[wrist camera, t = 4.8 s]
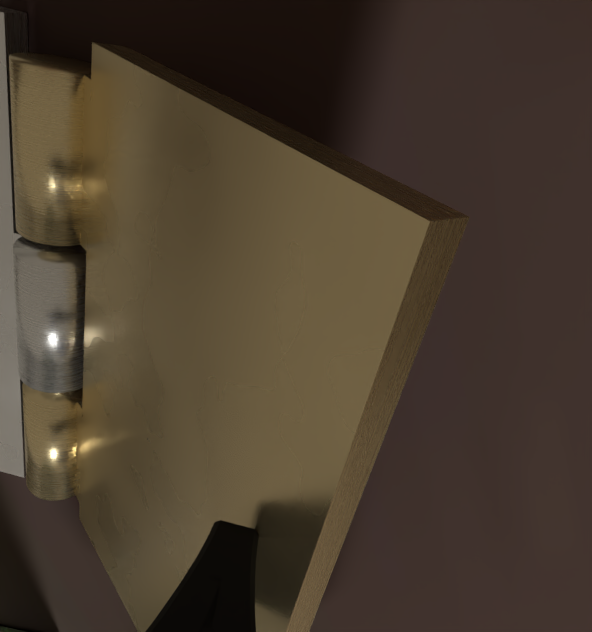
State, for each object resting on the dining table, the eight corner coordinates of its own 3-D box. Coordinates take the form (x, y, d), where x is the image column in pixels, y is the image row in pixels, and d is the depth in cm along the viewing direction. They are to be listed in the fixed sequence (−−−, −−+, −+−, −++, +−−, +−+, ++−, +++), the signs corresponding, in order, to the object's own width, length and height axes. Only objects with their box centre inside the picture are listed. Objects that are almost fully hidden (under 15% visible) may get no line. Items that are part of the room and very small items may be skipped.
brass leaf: (77, 462, 23) (18, 482, 21) (87, 26, 15) (-5, 12, 13) (254, 777, 15) (180, 839, 14) (473, 216, 7) (350, 230, 6)
